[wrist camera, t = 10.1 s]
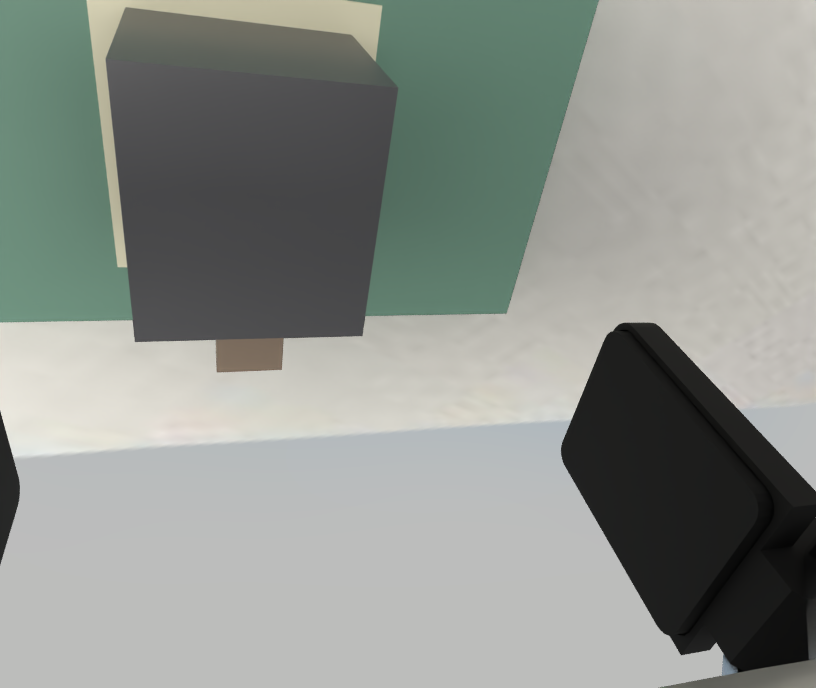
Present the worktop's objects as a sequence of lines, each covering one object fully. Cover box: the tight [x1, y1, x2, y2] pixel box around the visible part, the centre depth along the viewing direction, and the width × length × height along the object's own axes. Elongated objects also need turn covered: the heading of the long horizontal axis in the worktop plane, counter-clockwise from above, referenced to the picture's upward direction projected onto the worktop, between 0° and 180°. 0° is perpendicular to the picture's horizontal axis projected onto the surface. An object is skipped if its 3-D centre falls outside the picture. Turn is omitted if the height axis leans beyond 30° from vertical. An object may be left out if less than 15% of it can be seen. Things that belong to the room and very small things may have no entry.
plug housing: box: [106, 7, 398, 372], centre depth 17 cm, size 6×8×5 cm, turn 171°
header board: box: [0, 0, 599, 322], centre depth 18 cm, size 20×12×4 cm, turn 81°
